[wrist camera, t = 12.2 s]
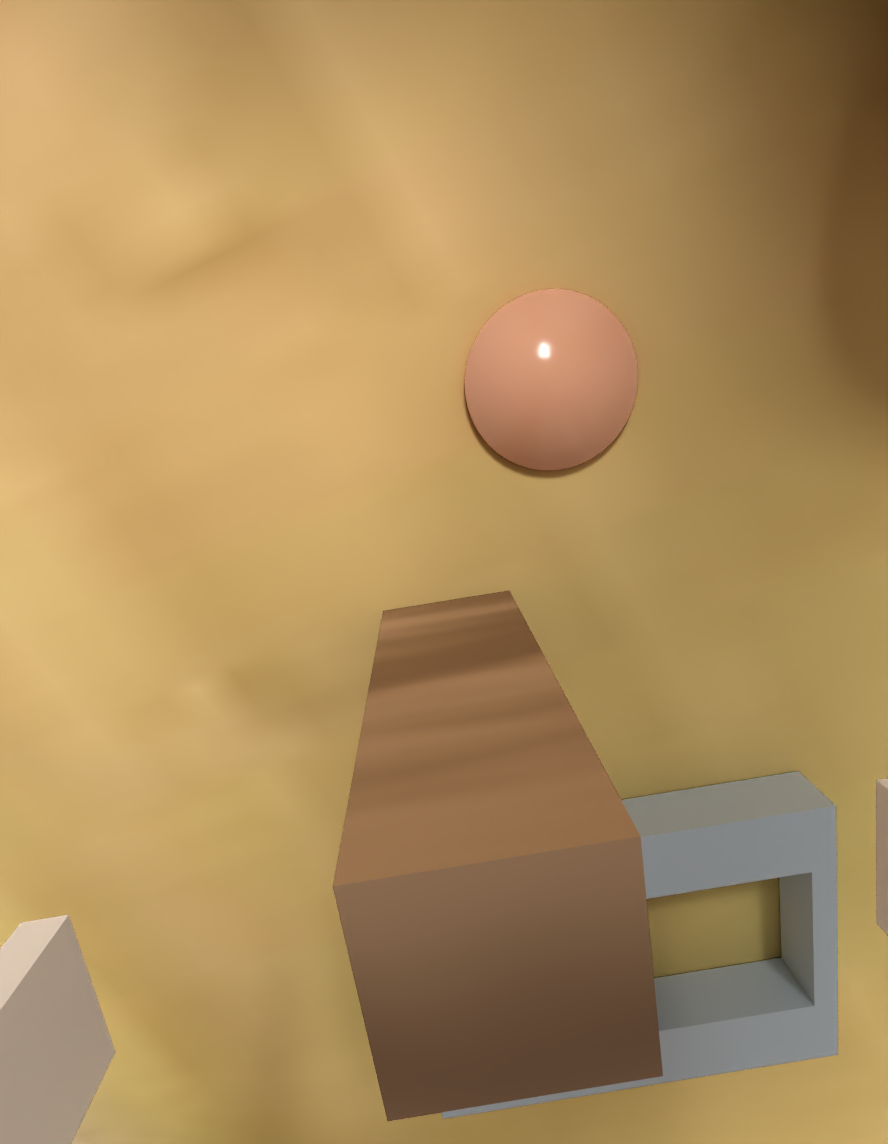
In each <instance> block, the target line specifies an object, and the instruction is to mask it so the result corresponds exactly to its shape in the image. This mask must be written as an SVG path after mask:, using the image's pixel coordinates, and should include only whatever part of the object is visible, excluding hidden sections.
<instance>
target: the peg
mask: <svg viewBox="0 0 888 1144" xmlns="http://www.w3.org/2000/svg"><path fill="white" fill-rule="evenodd" d="M333 889H334V894H335V898H336V902H337V907H338V911H339V915H340V919H341V924H342V928H343V932H344V937H345V941H346V945H347V949H348V954H349V958H350V962H351V966H352V971H353V975H354V979H355V984H356V988H357V992H358V996H359V1001H360V1005H361V1009H362V1014H363V1018H364V1022H365V1026H366V1031H367V1035H368V1039H369V1044H370V1048H371V1052H372V1056H373V1061H374V1065H375V1069H376V1073H377V1078H378V1082H379V1086H380V1091H381V1095H382V1099H383V1103H384V1108H385V1112H386V1116H387V1121H392V1120H398V1119H404V1118H410V1117H417V1116H423V1115H429V1114H435V1113H441V1112H447V1111H453V1110H459V1109H465V1108H472V1107H478V1106H484V1105H490V1104H496V1103H502V1102H508V1101H514V1100H520V1099H526V1098H533V1097H539V1096H545V1095H551V1094H557V1093H563V1092H569V1091H575V1090H581V1089H588V1088H594V1087H600V1086H606V1085H612V1084H618V1083H624V1082H630V1081H636V1080H642V1079H649V1078H655V1077H661V1076H663V1070H662V1059H661V1048H660V1038H659V1027H658V1016H657V1006H656V995H655V984H654V974H653V963H652V953H651V942H650V931H649V921H648V910H647V899H646V889H645V878H644V867H643V857H642V846H641V836H640V834H639V832H638V831H637V829H636V827H635V825H634V823H633V821H632V819H631V817H630V816H629V814H628V812H627V810H626V808H625V806H624V804H623V802H622V801H621V799H620V797H619V795H618V793H617V791H616V789H615V788H614V786H613V784H612V782H611V780H610V778H609V776H608V774H607V773H606V771H605V769H604V767H603V765H602V763H601V761H600V759H599V758H598V756H597V754H596V752H595V750H594V748H593V746H592V745H591V743H590V741H589V739H588V737H587V735H586V733H585V731H584V730H583V728H582V726H581V724H580V722H579V720H578V718H577V716H576V715H575V713H574V711H573V709H572V707H571V705H570V703H569V702H568V700H567V698H566V696H565V694H564V692H563V690H562V688H561V687H560V685H559V683H558V681H557V679H556V677H555V675H554V673H553V672H552V670H551V668H550V666H549V664H548V662H547V660H546V659H545V657H544V655H543V653H542V651H541V649H540V647H539V645H538V644H537V642H536V640H535V638H534V636H533V634H532V632H531V630H530V629H529V627H528V625H527V623H526V621H525V619H524V617H523V615H522V614H521V612H520V610H519V608H518V606H517V604H516V602H515V601H514V599H513V597H512V595H511V593H510V591H504V592H498V593H492V594H485V595H479V596H473V597H467V598H461V599H455V600H448V601H442V602H436V603H430V604H424V605H418V606H411V607H405V608H399V609H393V610H387V611H383V614H382V620H381V625H380V631H379V636H378V641H377V647H376V652H375V658H374V663H373V669H372V674H371V680H370V685H369V691H368V696H367V702H366V707H365V713H364V718H363V724H362V729H361V735H360V740H359V746H358V751H357V757H356V762H355V768H354V773H353V779H352V784H351V789H350V795H349V800H348V806H347V811H346V817H345V822H344V828H343V833H342V839H341V844H340V850H339V855H338V861H337V866H336V872H335V877H334V883H333Z"/></svg>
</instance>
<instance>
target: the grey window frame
mask: <svg viewBox="0 0 888 1144" xmlns="http://www.w3.org/2000/svg"><path fill="white" fill-rule="evenodd" d="M621 801H622V802H623V804H624V806H625V808H626V810H627V812H628V814H629V816H630V817H631V819H632V821H633V823H634V825H635V827H636V829H637V831H638V832H639V834H640V836H641V846H642V857H643V867H644V878H645V889H646V899H650V898H656V897H662V896H668V895H674V894H680V893H687V892H693V891H699V890H705V889H711V888H717V887H723V886H730V885H736V884H742V883H748V882H754V881H760V880H767V879H773V878H779V890H780V920H781V950H782V957H781V958H775V959H769V960H763V961H757V962H751V963H744V964H738V965H732V966H726V967H720V968H714V969H708V970H701V971H695V972H689V973H683V974H677V975H671V976H665V977H658V978H654V984H655V995H656V1006H657V1016H658V1027H659V1038H660V1048H661V1059H662V1070H663V1076H661V1077H655V1078H649V1079H642V1080H636V1081H630V1082H624V1083H618V1084H612V1085H606V1086H600V1087H594V1088H588V1089H581V1090H575V1091H569V1092H563V1093H557V1094H551V1095H545V1096H539V1097H533V1098H526V1099H520V1100H514V1101H508V1102H502V1103H496V1104H490V1105H484V1106H478V1107H472V1108H465V1109H459V1110H453V1111H447V1112H442V1116H443V1119H446V1118H452V1117H458V1116H464V1115H470V1114H476V1113H482V1112H489V1111H495V1110H501V1109H507V1108H513V1107H519V1106H525V1105H532V1104H538V1103H544V1102H550V1101H556V1100H562V1099H568V1098H574V1097H581V1096H587V1095H593V1094H599V1093H605V1092H611V1091H617V1090H624V1089H630V1088H636V1087H642V1086H648V1085H654V1084H660V1083H667V1082H673V1081H679V1080H685V1079H691V1078H697V1077H703V1076H710V1075H716V1074H722V1073H728V1072H734V1071H740V1070H746V1069H752V1068H759V1067H765V1066H771V1065H777V1064H783V1063H789V1062H795V1061H802V1060H808V1059H814V1058H820V1057H826V1056H832V1055H838V983H837V852H836V805H835V804H834V803H833V802H832V801H831V800H829V799H828V798H827V797H826V796H825V795H824V794H823V793H822V792H821V791H820V790H819V789H818V788H816V787H815V786H814V785H813V784H812V783H811V782H810V781H809V780H808V779H807V778H806V777H805V776H803V775H802V774H801V773H800V772H799V771H796V772H790V773H784V774H777V775H771V776H765V777H759V778H753V779H747V780H740V781H734V782H728V783H722V784H716V785H710V786H703V787H697V788H691V789H685V790H679V791H673V792H666V793H660V794H654V795H648V796H642V797H636V798H629V799H623V800H621Z"/></svg>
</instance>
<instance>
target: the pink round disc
mask: <svg viewBox="0 0 888 1144" xmlns="http://www.w3.org/2000/svg"><path fill="white" fill-rule="evenodd" d="M637 386H638V366H637V359H636V354H635V351H634V347H633V344H632V342H631V339H630V337H629V335H628V333H627V331H626V330H625V328H624V326H623V325H622V323H621V322H620V321H619V320H618V318H617V317H616V316H615V315H614V314H613V313H612V312H611V311H610V310H609V309H608V308H607V307H606V306H604V305H603V304H601V303H600V302H599V301H597V300H595V299H593V298H591V297H589V296H587V295H585V294H582V293H579V292H576V291H571V290H566V289H545V290H539V291H534V292H530V293H528V294H525V295H522V296H520V297H518V298H516V299H514V300H512V301H510V302H509V303H507V304H506V305H505V306H503V307H502V308H500V309H499V310H498V311H497V312H496V313H495V314H494V315H493V316H492V317H491V318H490V319H489V320H488V321H487V323H486V324H485V325H484V326H483V328H482V329H481V331H480V332H479V334H478V336H477V337H476V339H475V341H474V344H473V346H472V348H471V350H470V354H469V357H468V360H467V365H466V371H465V397H466V402H467V407H468V410H469V413H470V416H471V419H472V421H473V423H474V425H475V427H476V429H477V430H478V432H479V433H480V435H481V436H482V438H483V439H484V440H485V441H486V442H487V444H488V445H489V446H490V447H491V448H492V449H494V450H495V451H496V452H497V453H498V454H500V455H501V456H503V457H504V458H506V459H507V460H509V461H511V462H513V463H515V464H518V465H520V466H523V467H527V468H530V469H536V470H549V471H551V470H562V469H566V468H570V467H574V466H577V465H579V464H582V463H584V462H586V461H588V460H590V459H592V458H593V457H595V456H596V455H598V454H599V453H601V452H602V451H603V450H604V449H605V448H607V447H608V446H609V445H610V444H611V443H612V442H613V440H614V439H615V438H616V437H617V436H618V435H619V433H620V432H621V430H622V429H623V427H624V426H625V424H626V422H627V420H628V418H629V416H630V414H631V411H632V408H633V406H634V402H635V398H636V394H637Z"/></svg>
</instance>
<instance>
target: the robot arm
mask: <svg viewBox="0 0 888 1144" xmlns="http://www.w3.org/2000/svg"><path fill="white" fill-rule="evenodd" d="M876 914H877V924H878V925H879V927H880V928H881V929H882V930H883V931H884V932H885V933H886V934H887V935H888V778H885V779H879V780H876ZM114 1054H115V1049H114V1046H113V1043H112V1040H111V1037H110V1034H109V1031H108V1028H107V1026H106V1023H105V1020H104V1017H103V1014H102V1011H101V1008H100V1005H99V1002H98V999H97V996H96V993H95V990H94V988H93V985H92V982H91V979H90V976H89V973H88V970H87V967H86V964H85V961H84V958H83V955H82V952H81V949H80V947H79V944H78V941H77V938H76V935H75V932H74V929H73V926H72V923H71V920H70V917H69V915H64V916H58V917H52V918H46V919H40V920H34V921H28V922H22V923H20V925H19V926H18V927H17V928H16V930H15V931H14V932H13V933H12V935H11V936H10V937H9V938H8V940H7V941H6V942H5V943H4V945H3V946H2V947H1V948H0V1144H71V1143H72V1141H73V1139H74V1137H75V1135H76V1133H77V1131H78V1128H79V1126H80V1124H81V1122H82V1120H83V1118H84V1116H85V1114H86V1112H87V1110H88V1108H89V1106H90V1104H91V1102H92V1099H93V1097H94V1095H95V1093H96V1091H97V1089H98V1087H99V1085H100V1083H101V1081H102V1079H103V1077H104V1075H105V1073H106V1071H107V1068H108V1066H109V1064H110V1062H111V1060H112V1058H113V1056H114Z"/></svg>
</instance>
